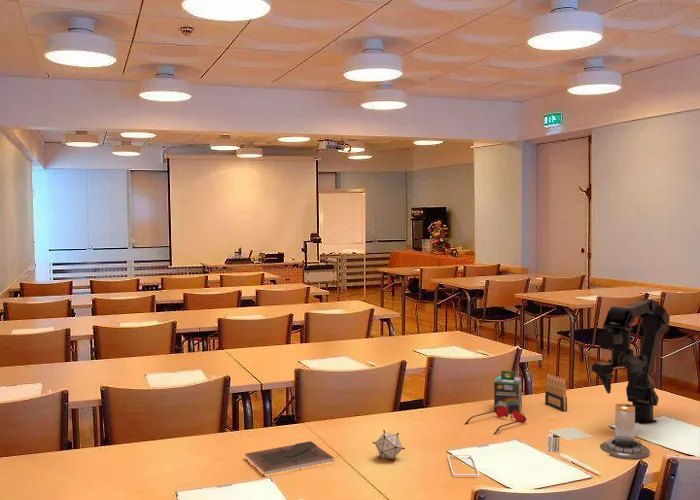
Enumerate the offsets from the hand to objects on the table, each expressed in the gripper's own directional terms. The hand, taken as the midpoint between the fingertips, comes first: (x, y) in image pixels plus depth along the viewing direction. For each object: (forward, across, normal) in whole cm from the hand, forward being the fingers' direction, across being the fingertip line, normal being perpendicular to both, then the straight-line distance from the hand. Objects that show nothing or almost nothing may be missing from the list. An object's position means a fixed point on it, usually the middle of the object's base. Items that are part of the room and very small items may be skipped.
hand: (619, 391), depth 228 cm
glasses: (+14, -34, +20) cm, 42 cm away
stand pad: (+13, -18, +2) cm, 22 cm away
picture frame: (+14, -109, +13) cm, 111 cm away
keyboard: (+14, -27, -4) cm, 31 cm away
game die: (+13, -81, +4) cm, 82 cm away
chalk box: (+13, -21, +34) cm, 42 cm away
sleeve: (+12, -12, -16) cm, 23 cm away
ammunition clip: (+13, -3, +30) cm, 33 cm away
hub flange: (+13, -12, -16) cm, 24 cm away
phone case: (+14, -64, -10) cm, 66 cm away
